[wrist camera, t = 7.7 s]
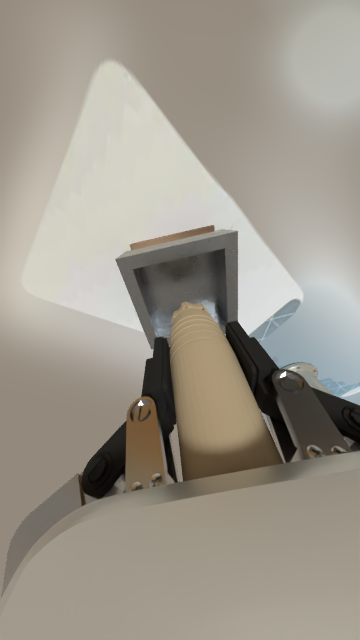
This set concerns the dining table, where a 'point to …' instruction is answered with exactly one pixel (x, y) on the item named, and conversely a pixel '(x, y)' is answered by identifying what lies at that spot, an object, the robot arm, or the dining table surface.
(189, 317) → the handle
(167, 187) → the dining table surface
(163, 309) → the grey open box
